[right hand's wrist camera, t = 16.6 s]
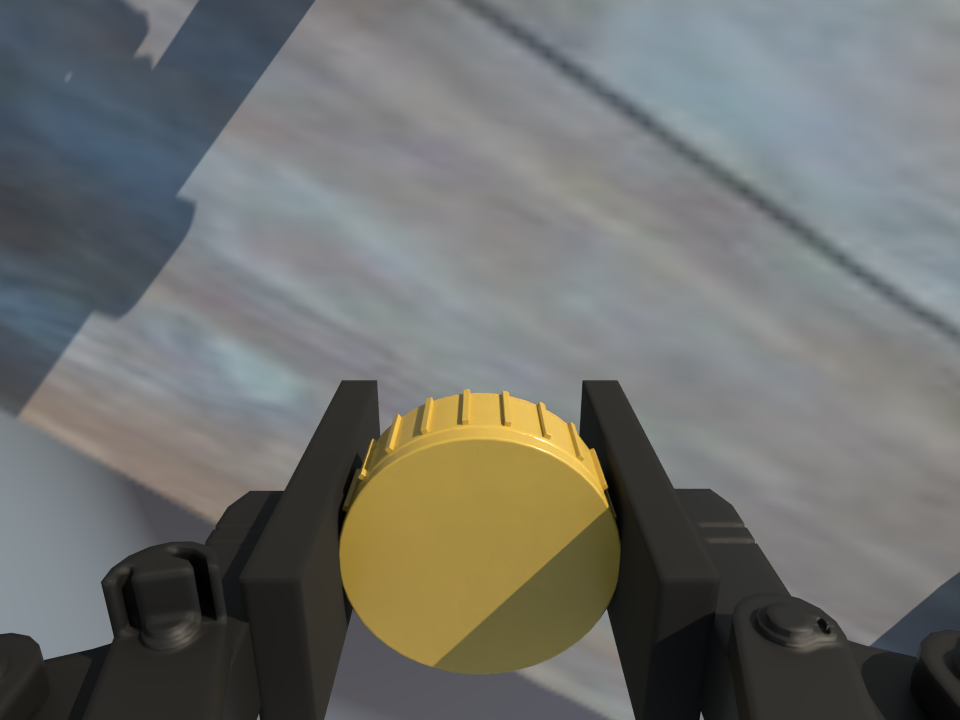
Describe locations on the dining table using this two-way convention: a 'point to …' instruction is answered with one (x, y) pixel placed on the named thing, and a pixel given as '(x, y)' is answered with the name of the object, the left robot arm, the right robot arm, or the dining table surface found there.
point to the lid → (479, 535)
